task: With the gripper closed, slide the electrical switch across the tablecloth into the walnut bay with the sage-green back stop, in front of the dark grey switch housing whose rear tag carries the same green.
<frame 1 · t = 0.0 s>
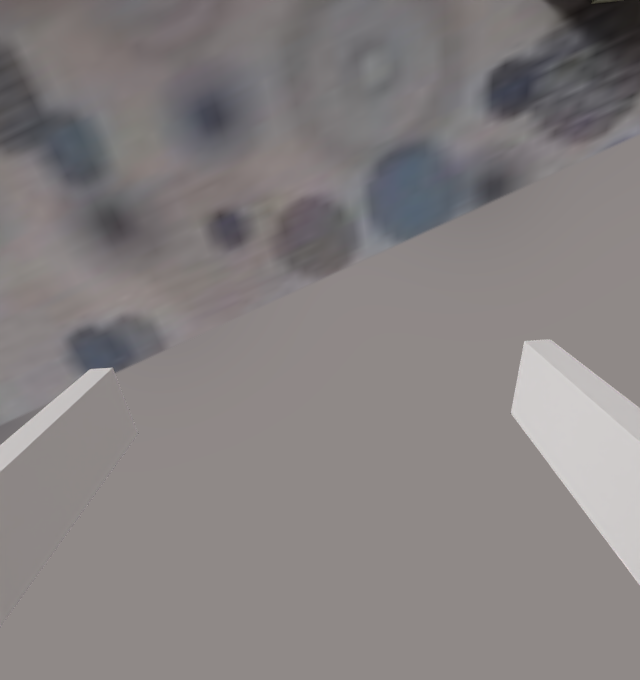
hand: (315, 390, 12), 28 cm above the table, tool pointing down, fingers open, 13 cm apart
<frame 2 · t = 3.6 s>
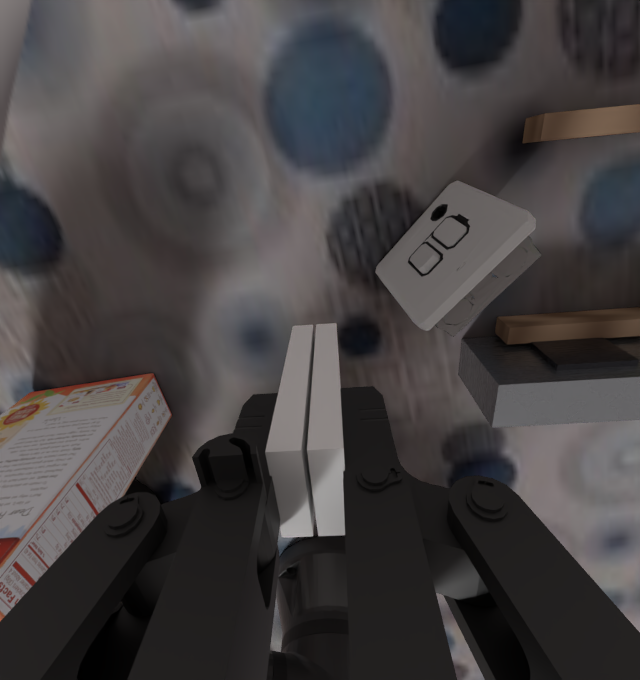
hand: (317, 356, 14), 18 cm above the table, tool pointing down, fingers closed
cracker box: (105, 402, 38), on the table
bay: (595, 232, 29), on the table
electrical switch: (434, 244, 30), on the table
switch housing: (544, 351, 34), on the table
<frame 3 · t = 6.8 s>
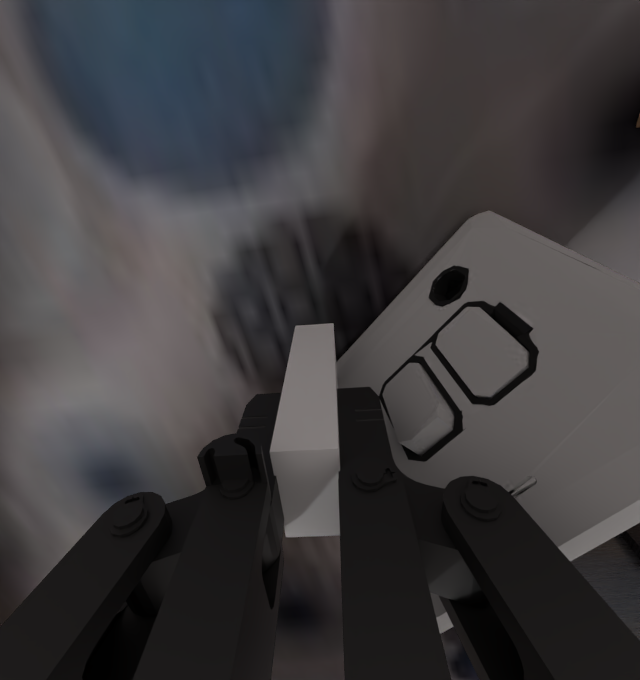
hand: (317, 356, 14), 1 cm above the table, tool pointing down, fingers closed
electrical switch: (438, 332, 15), on the table, touching gripper
switch housing: (628, 508, 19), on the table
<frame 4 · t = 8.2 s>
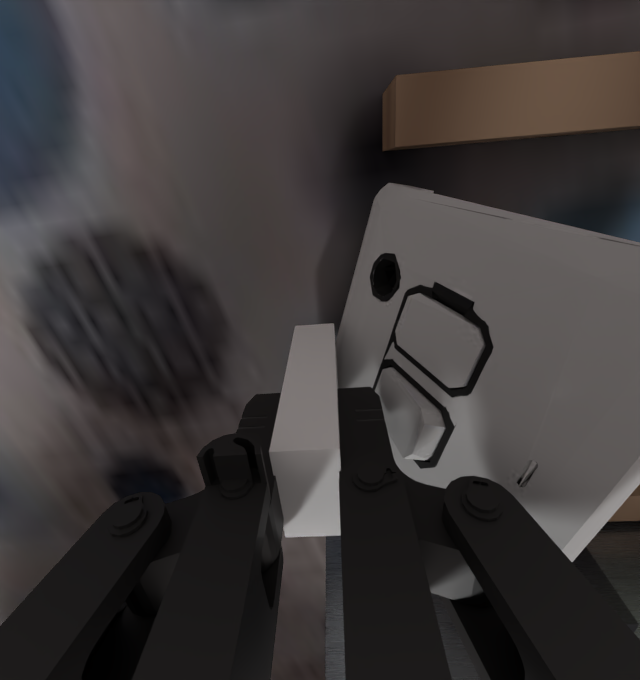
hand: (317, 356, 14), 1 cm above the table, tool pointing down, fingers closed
bay: (553, 328, 15), on the table
electrical switch: (405, 309, 14), on the table, touching gripper
switch housing: (473, 513, 19), on the table
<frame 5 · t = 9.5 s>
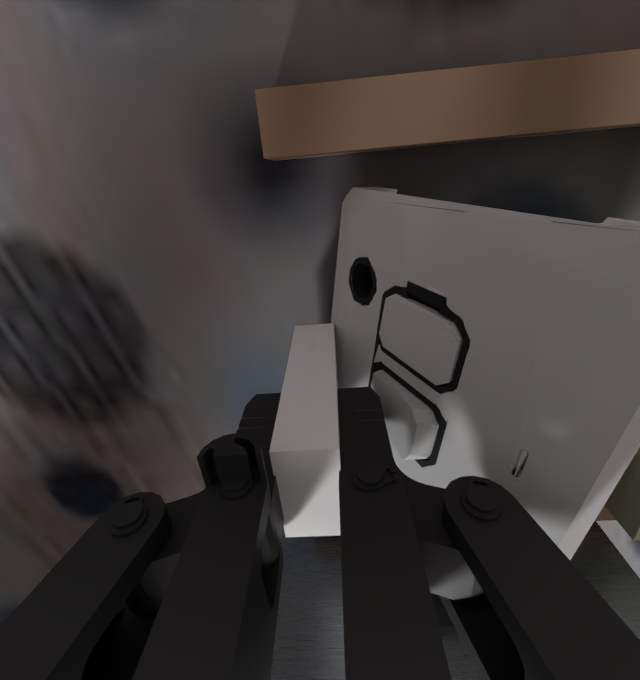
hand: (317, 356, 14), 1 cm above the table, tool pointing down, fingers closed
bay: (464, 332, 15), on the table
electrical switch: (393, 306, 14), on the table, touching gripper
switch housing: (409, 514, 20), on the table
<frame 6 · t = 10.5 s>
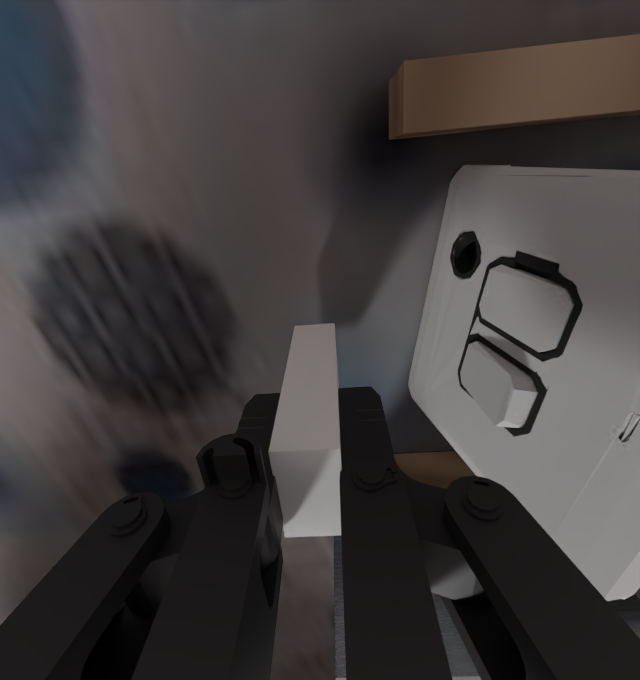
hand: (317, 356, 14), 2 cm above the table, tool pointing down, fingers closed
bay: (560, 317, 14), on the table
electrical switch: (490, 289, 14), on the table
switch housing: (480, 504, 19), on the table
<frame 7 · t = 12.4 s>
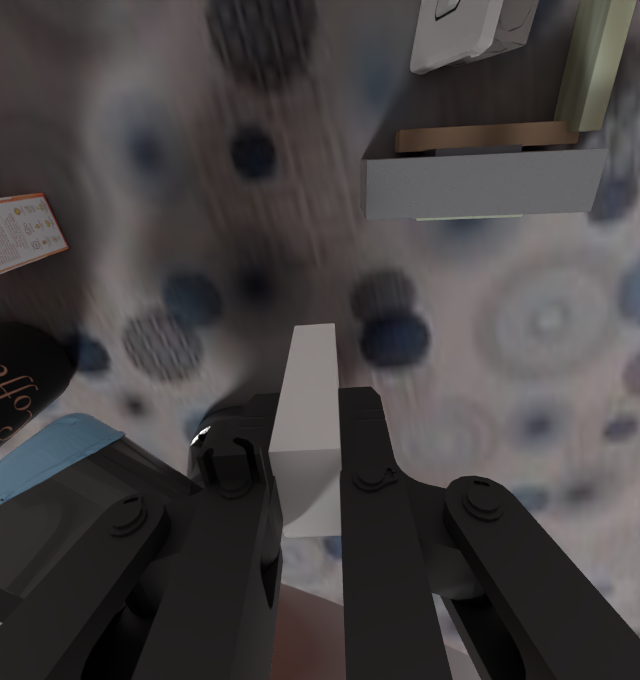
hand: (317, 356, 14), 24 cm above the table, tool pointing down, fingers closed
cracker box: (0, 231, 36), on the table
bay: (494, 19, 27), on the table
electrical switch: (456, 0, 27), on the table
switch housing: (449, 179, 32), on the table
coffee jar: (33, 357, 44), on the table
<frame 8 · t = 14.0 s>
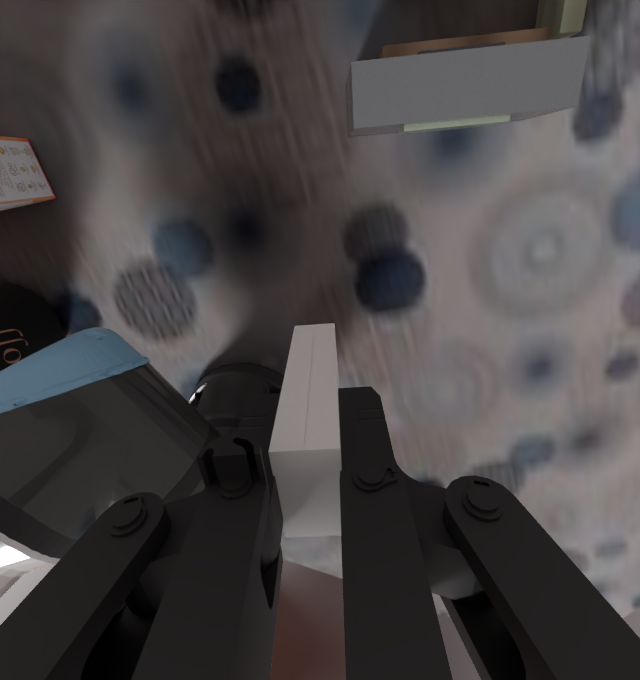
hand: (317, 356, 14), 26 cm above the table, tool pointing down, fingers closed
switch housing: (435, 103, 32), on the table
coffee jar: (23, 321, 43), on the table
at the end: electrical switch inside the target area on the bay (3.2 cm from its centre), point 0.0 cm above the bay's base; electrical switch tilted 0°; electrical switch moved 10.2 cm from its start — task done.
